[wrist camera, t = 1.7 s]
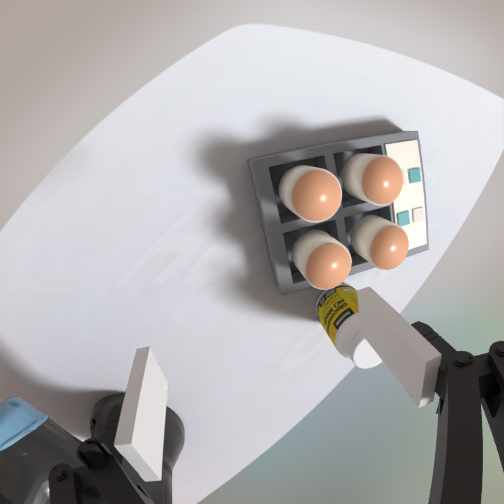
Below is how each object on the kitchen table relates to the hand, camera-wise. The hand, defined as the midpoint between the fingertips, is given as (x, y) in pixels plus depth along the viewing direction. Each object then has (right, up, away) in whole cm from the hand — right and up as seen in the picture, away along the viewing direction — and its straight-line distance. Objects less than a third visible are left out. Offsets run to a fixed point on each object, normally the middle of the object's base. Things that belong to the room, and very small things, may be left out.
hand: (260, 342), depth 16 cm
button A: (+6, +5, +19) cm, 20 cm away
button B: (+5, +11, +16) cm, 20 cm away
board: (+10, +10, +21) cm, 25 cm away
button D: (+11, +13, +17) cm, 24 cm away
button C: (+13, +7, +19) cm, 24 cm away
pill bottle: (+10, -2, +25) cm, 27 cm away
